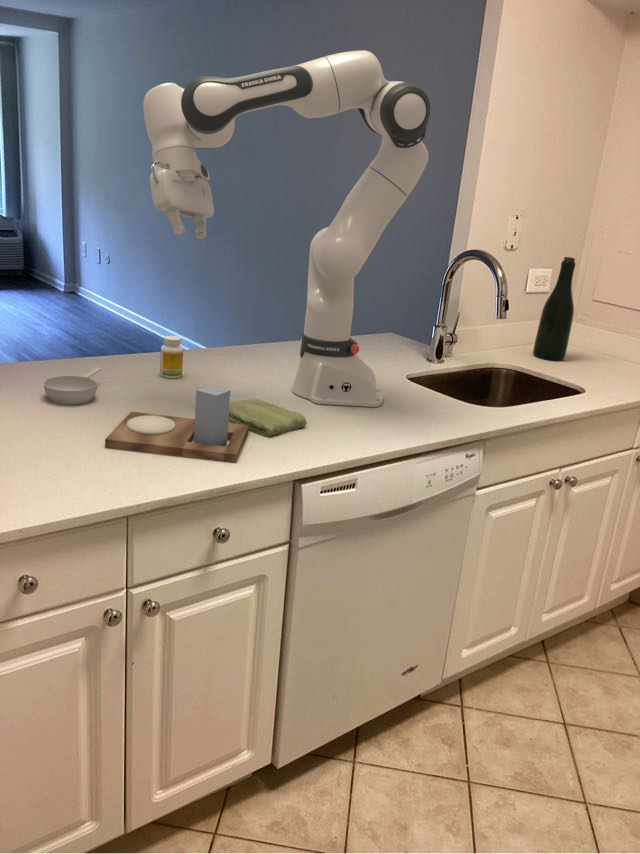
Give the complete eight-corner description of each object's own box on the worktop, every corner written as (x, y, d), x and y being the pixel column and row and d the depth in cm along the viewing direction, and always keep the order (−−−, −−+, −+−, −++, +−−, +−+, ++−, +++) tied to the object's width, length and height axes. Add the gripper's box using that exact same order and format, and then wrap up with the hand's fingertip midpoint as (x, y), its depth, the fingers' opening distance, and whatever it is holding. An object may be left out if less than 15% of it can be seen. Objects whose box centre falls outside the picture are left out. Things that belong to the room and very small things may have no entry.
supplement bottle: (155, 373, 179) (157, 335, 175) (175, 371, 182) (176, 334, 179) (166, 379, 175) (167, 340, 172) (186, 377, 178) (187, 339, 175)
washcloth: (252, 405, 165) (253, 392, 164) (309, 429, 154) (311, 414, 153) (207, 416, 155) (208, 401, 154) (266, 441, 145) (267, 426, 144)
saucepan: (33, 401, 151) (33, 384, 150) (77, 380, 168) (77, 364, 167) (81, 410, 150) (81, 392, 148) (121, 387, 166) (121, 371, 165)
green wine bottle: (563, 363, 236) (586, 260, 225) (530, 357, 240) (551, 256, 228) (565, 357, 246) (587, 258, 235) (533, 351, 249) (554, 253, 238)
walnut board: (248, 432, 147) (249, 425, 146) (235, 462, 132) (236, 454, 131) (131, 418, 147) (131, 411, 147) (105, 447, 132) (105, 439, 132)
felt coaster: (179, 421, 144) (179, 418, 144) (168, 437, 136) (168, 434, 136) (135, 416, 144) (135, 413, 144) (120, 431, 136) (120, 428, 136)
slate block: (207, 439, 141) (210, 385, 138) (226, 444, 140) (230, 390, 136) (193, 445, 138) (196, 390, 134) (213, 451, 136) (216, 395, 132)
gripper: (164, 154, 138) (180, 227, 140) (212, 172, 157) (225, 236, 159) (136, 163, 140) (152, 235, 142) (186, 180, 160) (200, 243, 161)
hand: (191, 236), depth 150 cm, fingers open, 8 cm apart
